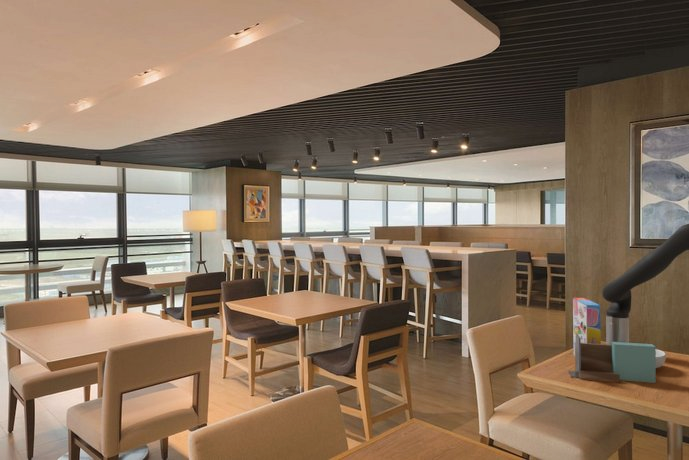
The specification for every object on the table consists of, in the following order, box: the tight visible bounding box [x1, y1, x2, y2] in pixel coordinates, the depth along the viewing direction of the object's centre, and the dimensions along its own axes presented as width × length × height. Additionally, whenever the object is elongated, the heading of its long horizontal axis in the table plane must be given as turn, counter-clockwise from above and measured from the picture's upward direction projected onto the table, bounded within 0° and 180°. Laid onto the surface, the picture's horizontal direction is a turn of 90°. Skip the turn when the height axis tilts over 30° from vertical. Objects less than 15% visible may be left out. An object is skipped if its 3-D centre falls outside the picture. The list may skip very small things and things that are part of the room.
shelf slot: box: [574, 343, 621, 383], centre depth 185 cm, size 10×14×12 cm
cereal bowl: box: [656, 348, 667, 369], centre depth 196 cm, size 17×17×7 cm
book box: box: [612, 342, 657, 384], centre depth 181 cm, size 4×14×14 cm, turn 73°
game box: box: [572, 297, 602, 357], centre depth 204 cm, size 21×6×27 cm, turn 168°
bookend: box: [567, 334, 581, 379], centre depth 187 cm, size 7×4×16 cm, turn 163°
